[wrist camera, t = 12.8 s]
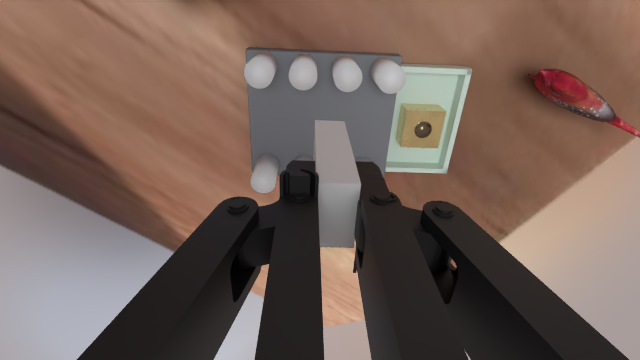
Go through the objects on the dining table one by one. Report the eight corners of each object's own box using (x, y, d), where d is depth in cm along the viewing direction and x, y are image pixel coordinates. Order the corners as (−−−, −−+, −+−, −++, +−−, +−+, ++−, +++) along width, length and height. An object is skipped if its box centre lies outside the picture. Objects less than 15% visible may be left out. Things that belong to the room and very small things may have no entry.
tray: (382, 164, 45) (385, 171, 43) (396, 63, 39) (401, 66, 37) (440, 165, 46) (446, 173, 44) (464, 65, 39) (472, 69, 38)
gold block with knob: (395, 138, 43) (400, 147, 41) (401, 103, 41) (407, 110, 38) (430, 140, 43) (438, 148, 41) (438, 104, 41) (447, 111, 39)
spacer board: (254, 166, 45) (245, 193, 39) (248, 47, 38) (236, 56, 32) (381, 170, 46) (391, 197, 40) (398, 53, 39) (414, 64, 32)
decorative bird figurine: (508, 45, 38) (566, 60, 30) (615, 112, 43) (694, 142, 34) (491, 69, 40) (542, 89, 31) (597, 131, 44) (669, 165, 35)
